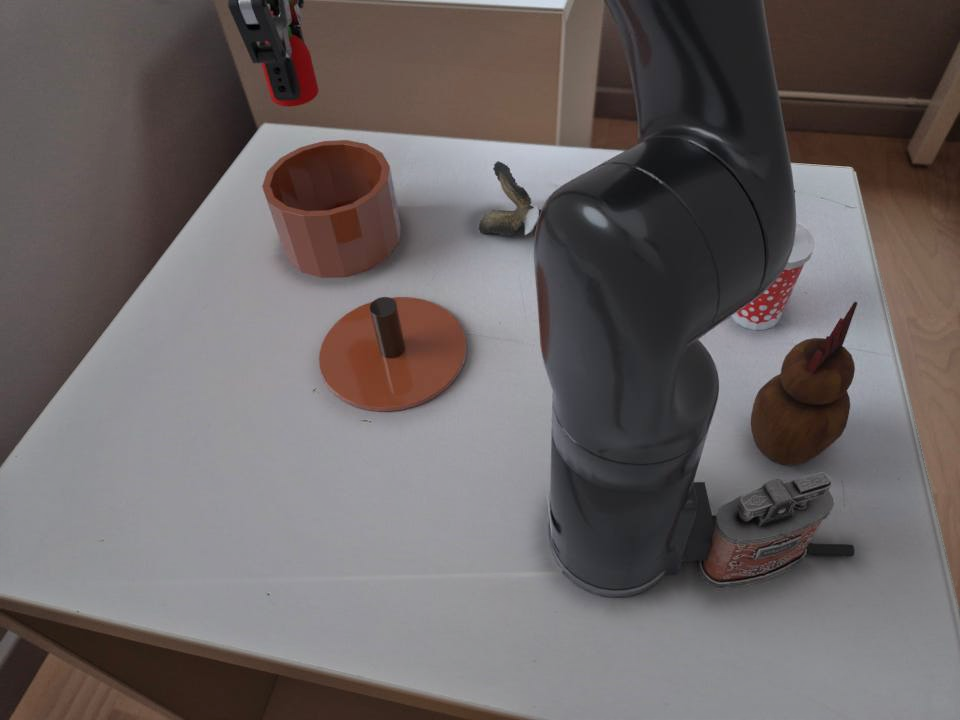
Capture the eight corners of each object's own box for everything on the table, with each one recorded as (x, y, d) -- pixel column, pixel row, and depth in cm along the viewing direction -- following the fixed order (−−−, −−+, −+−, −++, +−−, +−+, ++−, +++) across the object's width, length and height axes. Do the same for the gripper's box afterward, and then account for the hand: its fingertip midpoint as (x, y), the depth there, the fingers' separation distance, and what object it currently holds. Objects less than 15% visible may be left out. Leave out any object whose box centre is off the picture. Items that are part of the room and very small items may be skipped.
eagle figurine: (572, 201, 82) (498, 171, 83) (569, 179, 75) (489, 145, 76) (541, 264, 81) (468, 232, 83) (536, 247, 74) (456, 212, 76)
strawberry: (321, 80, 68) (306, 16, 63) (315, 105, 65) (299, 40, 60) (275, 82, 68) (257, 19, 63) (267, 108, 65) (247, 43, 61)
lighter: (711, 597, 53) (740, 530, 46) (689, 555, 55) (713, 484, 48) (813, 564, 54) (857, 493, 47) (787, 524, 56) (826, 450, 49)
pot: (404, 202, 85) (393, 137, 79) (396, 278, 77) (382, 212, 70) (295, 207, 86) (275, 143, 79) (275, 283, 78) (251, 218, 71)
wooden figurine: (798, 405, 64) (853, 274, 52) (843, 458, 60) (913, 330, 49) (728, 431, 62) (770, 303, 51) (770, 487, 59) (825, 362, 47)
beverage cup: (735, 281, 74) (768, 160, 63) (797, 304, 71) (843, 182, 61) (710, 320, 70) (741, 199, 60) (774, 345, 68) (818, 224, 57)
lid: (468, 302, 74) (463, 251, 69) (465, 413, 65) (459, 363, 60) (332, 308, 75) (317, 257, 70) (311, 418, 66) (292, 369, 61)
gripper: (268, -111, 48) (325, 126, 61) (302, -177, 57) (345, 41, 70) (152, -104, 48) (234, 131, 61) (205, -171, 57) (266, 45, 70)
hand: (293, 82), depth 65 cm, fingers closed on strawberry, 4 cm apart
